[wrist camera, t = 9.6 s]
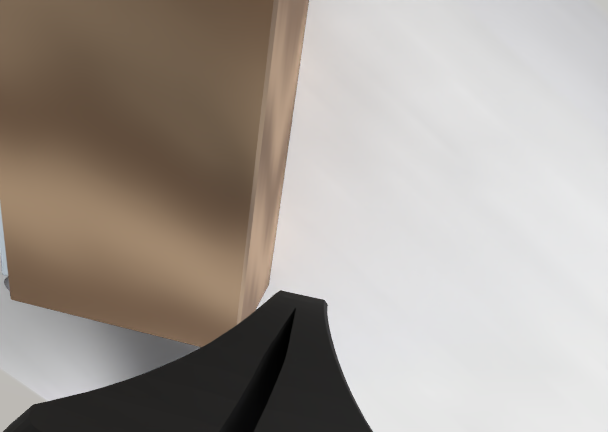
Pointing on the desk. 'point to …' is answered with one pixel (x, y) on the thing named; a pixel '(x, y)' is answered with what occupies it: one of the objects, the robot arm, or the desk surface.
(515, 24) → the desk surface
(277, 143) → the cabinet
